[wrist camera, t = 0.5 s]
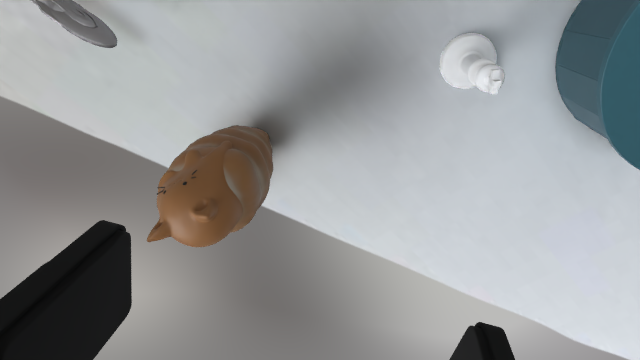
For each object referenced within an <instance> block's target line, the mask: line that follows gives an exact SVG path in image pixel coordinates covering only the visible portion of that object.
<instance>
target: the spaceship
mask: <svg viewBox="0 0 640 360" xmlns="http://www.w3.org/2000/svg"><path fill="white" fill-rule="evenodd" d="M30 1H32V2H33V3H34V4H36V5H37V6H38V7H39V8H40V10H41V12H43V13H44V14H45V15H46V16H48V17H49V18H51V19H52V20H54V21H55V22H56V23H58V24H59V25H61V26H62V27H63V28H65V29H66V30H67V31H69V32H70V33H71V34H73V35H75V36H77V37H79V38H80V39H82V40H84V41H87V42H89V43H91V44H94V45H97V46H100V47H105V48H113V47H115V46H117V38H116V36H115V34H114V33H113V31H112V30H111V29H110V28H109V27H108V26H107V25H106V24H105V23H104V22H103V21H102V20H100V19H99V18H98V17H96V16H95V15H94V14H92V13H90V12H89V11H87V10H86V9H84V8H83V7H81V6H80V5H79V4H77V3H76V2H74V1H73V0H30Z"/></svg>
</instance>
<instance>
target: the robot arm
mask: <svg viewBox="0 0 640 360" xmlns="http://www.w3.org/2000/svg"><path fill="white" fill-rule="evenodd" d="M131 303H132V302H131V236H130V234H129V233H127V232H126V228H125V227H124V226H123V225H119V224H116V223H112V222H108V221H105V220H102V221H99V222H97V223H96V224H95V225H94V226H92V227H91V228H90V229H89V230H88V231H86V232H85V233H84V234H83V235H81V236H80V237H79V238H78V239H76V240H75V241H74V242H73V243H71V244H70V245H69V246H68V247H67V248H65V249H64V250H63V251H62V252H60V253H59V254H58V255H57V256H55V257H54V258H53V259H52V260H50V261H49V262H47V263H45V264H44V265H42V266H41V267H40V268H38V270H36V271H35V272H34V273H32V274H31V275H30V276H29V277H27V278H26V279H25V280H24V281H22V282H21V283H20V284H19V285H17V286H16V287H15V288H14V289H12V290H11V291H10V292H9V293H7V294H6V295H5V296H4V297H3V298H1V299H0V360H93V359H94V358H95V356H96V355H97V354H98V352H99V351H100V350H101V349H102V347H103V346H104V345H105V343H106V342H107V341H108V339H109V338H110V337H111V336H112V334H113V333H114V332H115V331H116V330H117V328H118V327H119V326H120V324H121V323H122V322H123V321H124V319H125V318H126V317H127V315H128V313H129V311H130V308H131ZM450 360H515V358H514V355H513V353H512V350H511V347H510V345H509V342H508V340H507V337H506V334H505V332H504V330H503V329H502V328H500V327H496V326H493V325H489V324H485V323H482V322H478V323H477V324H476V325H475V326H469V327H468V329H467V330H466V332H465V334H464V335H463V337H462V339H461V341H460V343H459V344H458V346H457V348H456V349H455V351H454V353H453V355H452V356H451V358H450Z"/></svg>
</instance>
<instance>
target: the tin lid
mask: <svg viewBox="0 0 640 360" xmlns="http://www.w3.org/2000/svg"><path fill="white" fill-rule="evenodd" d="M597 109H598V115H599V120H600V123H601V126H602V129H603V132H604V134H605V135H606V137H607V139H608V141H609V143H610V144H611V145H612V147H613V148H614V149H615V150H616V151H617V153H618V154H619V155H620V156H621V157H623V158H624V159H625V160H626V161H627V162H628V163H630V164H631V165H633V166H634V167H636V168H638V169H639V170H640V0H636V1H635V2H634V3H633V5H632V6H631V8H630V9H629V10H628V12H627V13H626V15H625V16H624V17H623V19H622V20H621V22H620V24H619V26H618V27H617V29H616V31H615V33H614V34H613V36H612V38H611V40H610V43H609V45H608V47H607V50H606V52H605V55H604V57H603V61H602V64H601V68H600V71H599V76H598V84H597Z"/></svg>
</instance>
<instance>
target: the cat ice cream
mask: <svg viewBox="0 0 640 360" xmlns="http://www.w3.org/2000/svg"><path fill="white" fill-rule="evenodd" d="M272 172H273V162H272V146H271V144H270V140H269V136H268V134H267V133H266V132H265V131H263V130H261V129H258V128H253V127H247V126H238V125H236V126H231V127H228V128H224V129H221V130H218V131H216V132H214V133H212V134H211V135H208V136H204V137H202V138H200V139H198V140H196V141H195V142H193V143H192V144H190V145H189V146H188V148H187V149H186V150H185V151H183V152H182V153H181V154H180V155H179V156H178V157H177V158H175V160H174V161H173V162H172V164H171V165H170V167H169V169H168V170H167V172H166V173H165V174H164V175H163V177H162V178H161V180H160V182H159V186H158V193H157V195H158V196H157V207H158V210H159V214H160V219H159V221H158V223H157V224H156V225H155V226H154V228H153V229H152V230H151V232H150V234H149V236H148V238H147V241H148V242H151V241H157V240H161V239H164V238H167V237H173V238H174V239H175V240H177V241H178V242H180V243H182V244H185V245H187V246H192V247H205V246H210V245H213V244H215V243H217V242H219V241H220V240H222V239H223V238H225V237H226V236H227V235H228V234H229V233H230V232H235V231H238V230H239V229H242V228H243V227H244V226H246V225H247V224H248V223H249V222H250V221H251V220H252V218H253V217H254V215H255V213H256V211H257V209H258V208H259V207H260V206H261V205H262V203H263V202H264V200H265V198H266V196H267V193H268V190H269V185H270V178H271V175H272Z"/></svg>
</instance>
